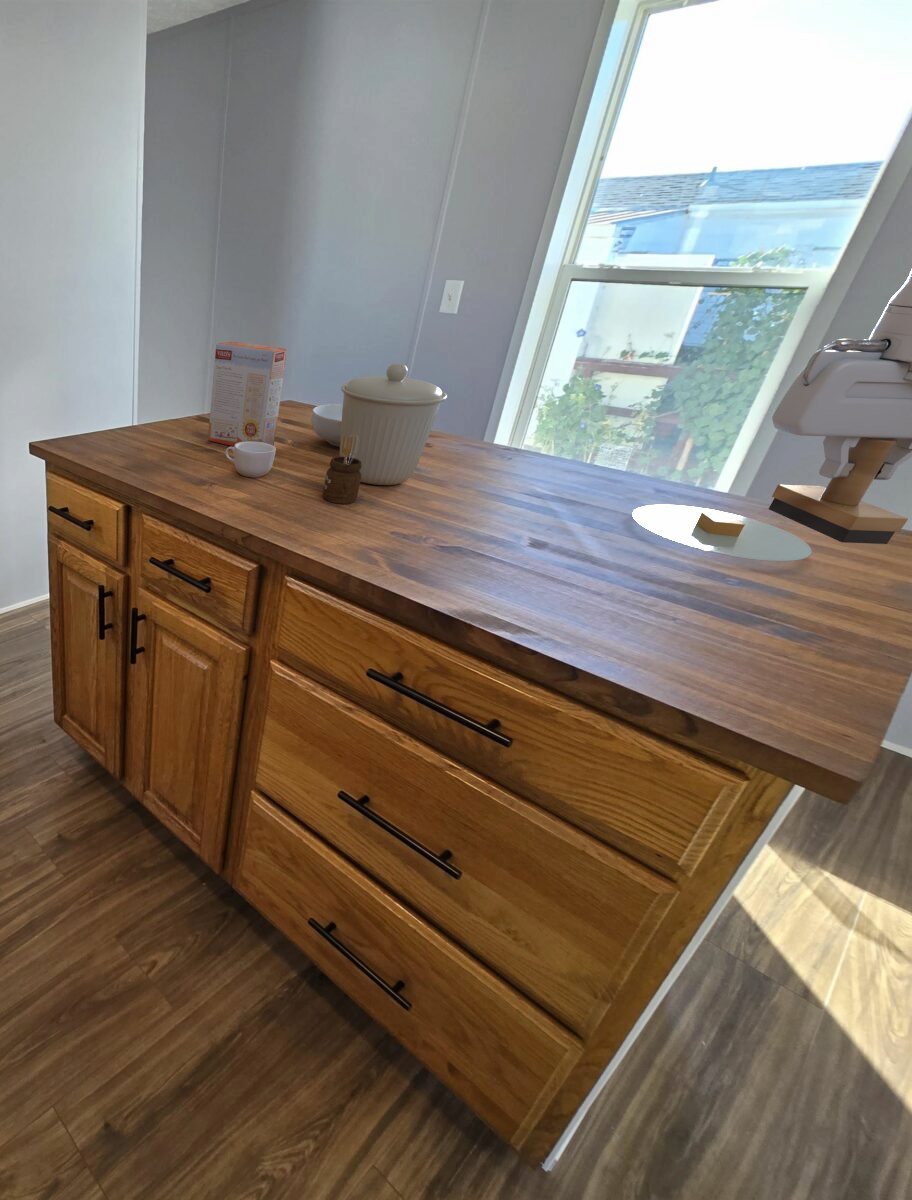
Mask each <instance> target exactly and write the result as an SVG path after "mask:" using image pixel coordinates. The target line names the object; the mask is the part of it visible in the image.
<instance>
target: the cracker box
mask: <svg viewBox="0 0 912 1200" xmlns="http://www.w3.org/2000/svg"><path fill="white" fill-rule="evenodd" d="M287 352H288V348H286V347H276V346H270V345H262V344H255V343H247V342H239V341H224V342H219V343H216V345H215V353H214V356H215V357H214V367H213V377H212V388H211V400H210V411H209V422H208V432H207V441H209V442H212V443H216V444H221V445H226V446H229V447H235V444H236V443H239V442H246V441H253V442H262V443H267V444H270V445H273V446H274V447H275V439H276V432H277V426H278V418H279V410H280V404H281V397H282V389H283V382H284V375H285V367H286V359H287Z"/></svg>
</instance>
